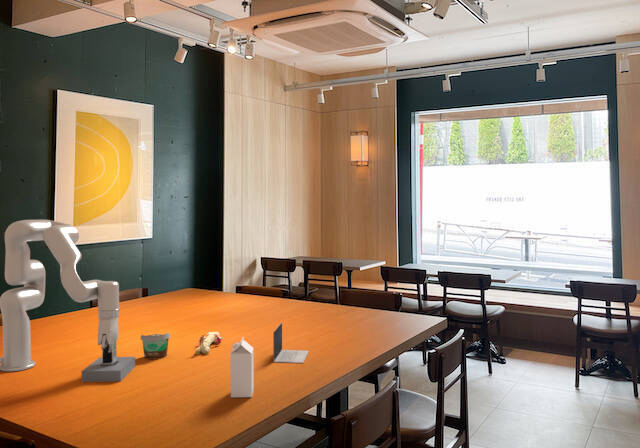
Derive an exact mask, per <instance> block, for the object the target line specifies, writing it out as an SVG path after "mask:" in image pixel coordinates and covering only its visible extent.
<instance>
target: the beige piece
mask: <svg viewBox="0 0 640 448" xmlns="http://www.w3.org/2000/svg"><path fill="white" fill-rule="evenodd" d="M205 335H206V336H205ZM223 339H224V337H223V336H220V332H219V331H209V332H208V333H206V334H203V335H202V336H201V337H200V338H199V340H198V342H199V344H200V346H198V347H197V348H196V351H195V352H194V354H195V355H197V356H199V355H201V353H203V355H205V356H207V355H209V354H210V349H211V347H210V345H211V344H212V343H216V347H218V346H220V344H221V343H222V340H223Z"/></svg>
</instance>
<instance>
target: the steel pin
mask: <svg viewBox="0 0 640 448" xmlns="http://www.w3.org/2000/svg"><path fill="white" fill-rule="evenodd" d="M106 344H108V343H106ZM106 347H108V346H106ZM111 352H112V362H111V363H103V353H101V357H102V366H115V365H116V364H117V357H118V356H117V354H118V353H117V340H115V341H114V342H113V343H112V344H111Z"/></svg>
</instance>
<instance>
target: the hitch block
mask: <svg viewBox="0 0 640 448" xmlns="http://www.w3.org/2000/svg"><path fill="white" fill-rule="evenodd" d="M135 367H136V357H135V356H117V364H116V365H115V366H102V356H101V357H98V358H97V359H95V360H94V361H93V362H91V363H90V364H89V365H88V366H87V367H85V368H84V369H83V370H82V371H81V382H82V383H100V382H104V383H105V382H107V383H108V382H122V381H123V380H124V378H126V376H127V375H129V374H130V372H131V371H133V369H134V368H135Z"/></svg>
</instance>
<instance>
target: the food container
mask: <svg viewBox="0 0 640 448" xmlns="http://www.w3.org/2000/svg"><path fill="white" fill-rule="evenodd" d="M170 338H171V334H170V332H167V333H164V334H161V333H160V334H159V333H155V334H150V335H148V334H147V335H144V334H141V335H140V340H141V341H142V348H143V356H144V358H145V359H147V360H159V359H163V358H166V357H167V355H168V350H169V349H168V348H169V339H170Z"/></svg>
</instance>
